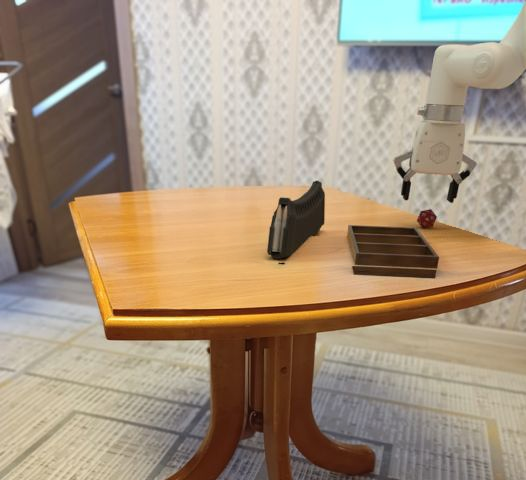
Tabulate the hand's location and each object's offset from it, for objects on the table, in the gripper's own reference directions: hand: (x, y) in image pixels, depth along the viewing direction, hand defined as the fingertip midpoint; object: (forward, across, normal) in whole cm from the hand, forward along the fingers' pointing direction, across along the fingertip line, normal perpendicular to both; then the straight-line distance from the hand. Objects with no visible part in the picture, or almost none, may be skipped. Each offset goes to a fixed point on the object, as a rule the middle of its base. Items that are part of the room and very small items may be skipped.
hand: (427, 200), depth 112 cm
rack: (+6, -12, -26) cm, 29 cm away
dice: (+6, 0, 0) cm, 6 cm away
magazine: (+6, -28, -21) cm, 35 cm away
